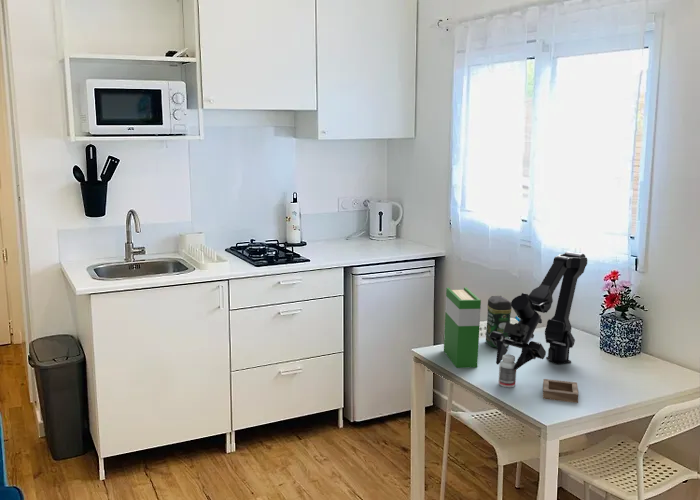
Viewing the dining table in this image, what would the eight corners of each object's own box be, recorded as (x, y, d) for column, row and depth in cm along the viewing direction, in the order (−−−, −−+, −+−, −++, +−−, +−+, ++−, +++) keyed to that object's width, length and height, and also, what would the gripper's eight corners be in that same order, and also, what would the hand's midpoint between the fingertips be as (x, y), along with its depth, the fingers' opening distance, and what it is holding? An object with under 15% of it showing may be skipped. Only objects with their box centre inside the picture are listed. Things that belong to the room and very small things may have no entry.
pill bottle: (518, 387, 233) (520, 358, 231) (502, 388, 231) (504, 359, 230) (510, 381, 238) (512, 352, 236) (495, 382, 237) (497, 353, 235)
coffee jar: (482, 341, 278) (485, 294, 275) (502, 340, 280) (504, 293, 276) (491, 349, 269) (494, 301, 265) (512, 348, 270) (515, 300, 267)
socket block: (542, 387, 234) (543, 378, 233) (576, 391, 231) (577, 382, 231) (542, 399, 224) (543, 390, 223) (577, 403, 221) (578, 394, 221)
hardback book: (443, 350, 266) (446, 287, 262) (463, 350, 267) (466, 287, 263) (456, 367, 249) (459, 300, 244) (477, 367, 250) (480, 300, 245)
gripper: (493, 307, 239) (472, 346, 234) (543, 319, 226) (522, 361, 221) (505, 325, 246) (484, 363, 241) (554, 338, 233) (534, 379, 228)
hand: (505, 366), depth 232 cm, fingers open, 6 cm apart
